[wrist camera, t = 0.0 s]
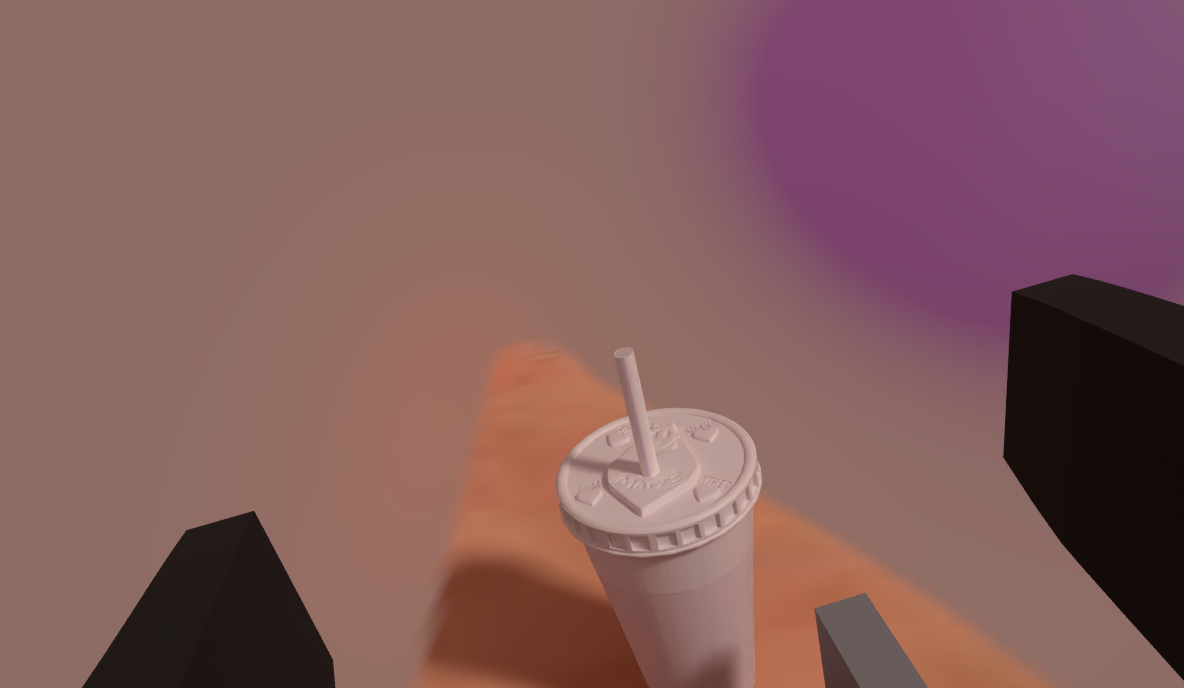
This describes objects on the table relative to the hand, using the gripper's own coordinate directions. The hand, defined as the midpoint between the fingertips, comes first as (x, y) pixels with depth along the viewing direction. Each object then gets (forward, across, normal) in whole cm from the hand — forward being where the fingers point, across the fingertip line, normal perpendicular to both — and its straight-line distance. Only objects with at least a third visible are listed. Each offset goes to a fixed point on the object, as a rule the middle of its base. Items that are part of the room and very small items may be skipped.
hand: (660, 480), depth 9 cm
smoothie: (+15, -2, +23) cm, 28 cm away
